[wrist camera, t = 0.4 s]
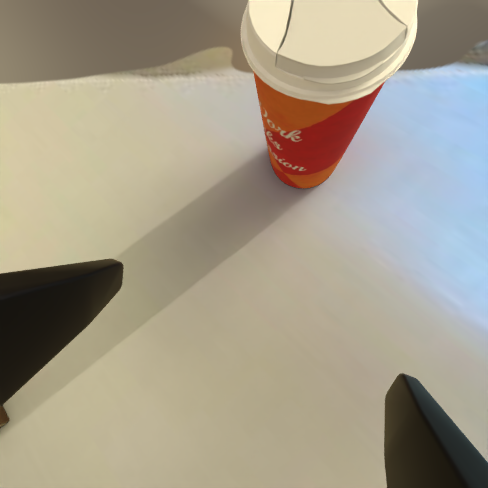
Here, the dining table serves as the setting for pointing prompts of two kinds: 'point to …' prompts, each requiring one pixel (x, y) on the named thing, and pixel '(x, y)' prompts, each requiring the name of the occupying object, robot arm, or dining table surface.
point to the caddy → (3, 417)
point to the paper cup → (321, 74)
